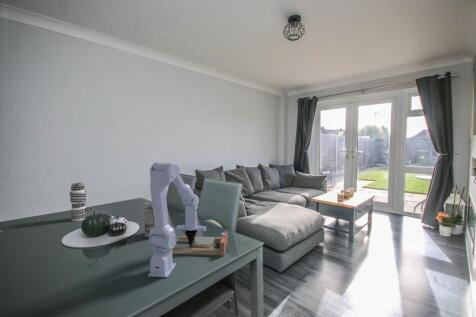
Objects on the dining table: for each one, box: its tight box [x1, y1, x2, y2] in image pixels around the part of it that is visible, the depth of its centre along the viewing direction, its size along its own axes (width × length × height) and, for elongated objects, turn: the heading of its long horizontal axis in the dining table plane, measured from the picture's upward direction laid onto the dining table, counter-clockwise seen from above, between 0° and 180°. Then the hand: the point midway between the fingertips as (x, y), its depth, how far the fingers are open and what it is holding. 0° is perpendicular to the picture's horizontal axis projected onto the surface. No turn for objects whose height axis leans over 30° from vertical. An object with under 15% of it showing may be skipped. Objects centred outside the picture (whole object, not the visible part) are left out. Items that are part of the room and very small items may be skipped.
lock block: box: [191, 236, 216, 249], centre depth 109 cm, size 8×10×4 cm
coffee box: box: [144, 205, 155, 238], centre depth 125 cm, size 9×6×16 cm
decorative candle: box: [69, 182, 87, 222], centre depth 151 cm, size 9×9×25 cm
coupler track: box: [172, 230, 229, 257], centre depth 109 cm, size 14×25×6 cm, turn 86°
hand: (191, 244), depth 110 cm, fingers closed
